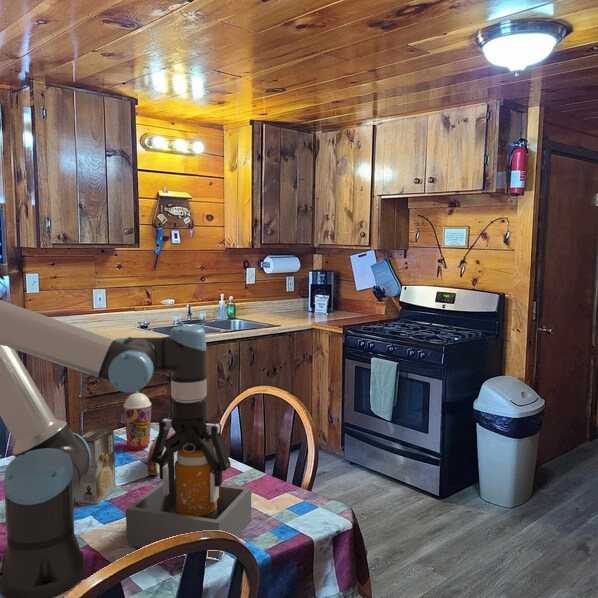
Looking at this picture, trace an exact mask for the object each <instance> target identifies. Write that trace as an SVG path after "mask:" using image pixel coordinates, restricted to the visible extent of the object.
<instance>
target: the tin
mask: <svg viewBox="0 0 598 598" xmlns="http://www.w3.org/2000/svg"><path fill="white" fill-rule="evenodd" d="M157 437H158V435H157V436H156V437H155V439H154V440H153V442H152V443H151V445H150V448H149V451H148V455H147V465H146V468H147V472H146V473H147V475H148V476H158V475H160V466H159V464H158V463H156V462H152V461H151V457H152V454H153V450H154V447H155V444H156V440H157ZM165 450H166V448H165V446H164V450H163V453H162V455H163V454H164V452H165Z"/></svg>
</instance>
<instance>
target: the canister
mask: <svg viewBox="0 0 598 598" xmlns="http://www.w3.org/2000/svg"><path fill="white" fill-rule="evenodd" d="M173 436H174V434H172V435H171V436H170V437H167V440H165V444H164V445H165V448H166V450H167V453H168V473H169V494H168V496H167V500H166V501H167V502H169V503H171V504H173V505H175V497H176V514H183V515H189V516H196V517H202V518H209V519H214V518H215V517H216V516H217V500H216V501H215V502H214V503H212V502H210V473H211V472H212V471H213V469H212V468H211V466H210V464H209V462H208V461H207V459H206V457H205V455H204V453H203V452H202V450H201V448H200V447H199V446H198V445H197V444H196V442H190V441H187V440H186V439H185V433H184V432H182V434H181V435H180V437H179V434H178V435H177V436H175V437H174V438H173ZM204 438H207V439H209V440H212V438H211V434H209V430H208V429H207V430H206V432H205V433H204V434H203V436H202V437H201V440H202V439H204ZM179 439H180V441H179V442H178V444H177V445H176V446H175V447H173V448H171V447H170V446H171V445H172V444H174V443H175V442H176V441H178V440H179ZM175 453H176V455H177V456H176V458H177V459H176V460H175Z"/></svg>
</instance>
